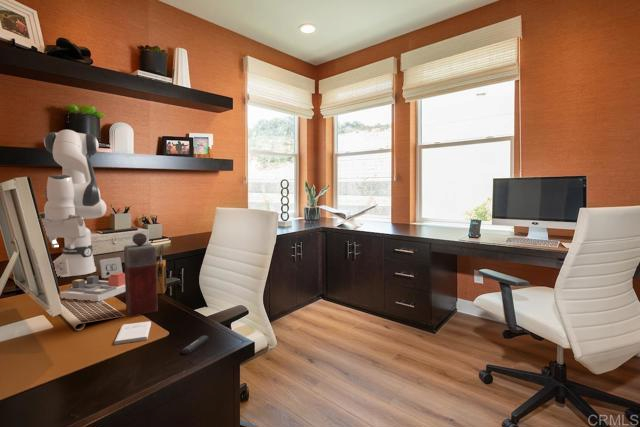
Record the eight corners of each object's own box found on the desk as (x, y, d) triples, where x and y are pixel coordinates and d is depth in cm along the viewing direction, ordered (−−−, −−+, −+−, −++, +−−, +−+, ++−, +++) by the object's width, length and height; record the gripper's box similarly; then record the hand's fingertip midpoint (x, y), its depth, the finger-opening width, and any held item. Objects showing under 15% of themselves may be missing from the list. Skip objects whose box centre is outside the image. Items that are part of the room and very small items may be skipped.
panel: (60, 298, 132) (60, 289, 132) (99, 285, 150) (99, 278, 150) (98, 301, 128) (97, 292, 128) (133, 288, 146) (133, 280, 146)
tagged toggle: (72, 289, 135) (71, 280, 135) (79, 287, 138) (78, 278, 138) (78, 290, 135) (78, 281, 134) (85, 288, 137) (85, 279, 137)
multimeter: (142, 288, 146) (141, 243, 145) (167, 286, 149) (166, 242, 148) (135, 299, 132) (133, 249, 131) (163, 296, 135) (161, 248, 134)
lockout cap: (108, 286, 141) (108, 274, 141) (118, 282, 146) (117, 272, 145) (118, 286, 140) (118, 275, 140) (127, 283, 145) (127, 272, 144)
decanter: (151, 302, 128) (149, 230, 126) (157, 311, 119) (155, 233, 117) (125, 307, 123) (122, 231, 121) (129, 316, 114) (126, 235, 112)
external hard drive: (114, 346, 93) (122, 329, 105) (147, 341, 96) (151, 325, 108) (114, 341, 93) (122, 324, 105) (147, 336, 96) (151, 320, 108)
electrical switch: (102, 279, 161) (100, 260, 161) (98, 278, 165) (97, 259, 164) (123, 275, 169) (121, 257, 169) (119, 274, 172) (117, 256, 172)
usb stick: (201, 339, 98) (201, 334, 98) (209, 340, 97) (209, 335, 97) (180, 354, 88) (180, 348, 88) (188, 355, 88) (188, 350, 88)
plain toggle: (86, 285, 142) (86, 277, 141) (92, 283, 144) (92, 275, 144) (92, 285, 141) (92, 277, 141) (99, 283, 144) (98, 275, 144)
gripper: (89, 214, 137) (91, 248, 138) (49, 213, 141) (51, 245, 142) (75, 215, 130) (77, 250, 131) (34, 214, 135) (35, 248, 136)
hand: (63, 248), depth 137 cm, fingers open, 7 cm apart
